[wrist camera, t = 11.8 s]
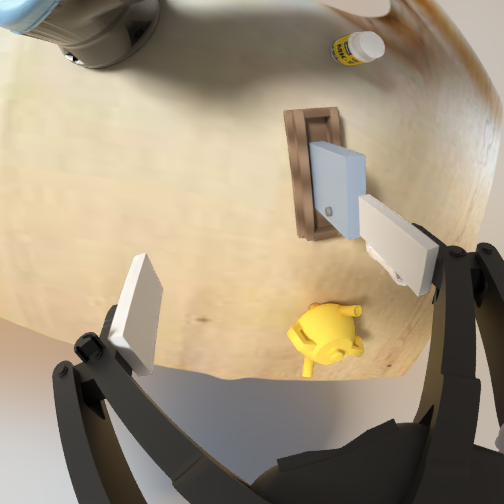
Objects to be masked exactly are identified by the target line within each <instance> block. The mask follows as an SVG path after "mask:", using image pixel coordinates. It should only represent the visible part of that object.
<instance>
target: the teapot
mask: <svg viewBox="0 0 504 504" xmlns="http://www.w3.org/2000/svg"><path fill="white" fill-rule="evenodd" d="M362 311H363V310H362V307H361V306H360V305H350V306H342V305H339V304H331V303H328V304H321V305H319V304H318V303H312V304H311V305H310V306H309V310H308V311H306V312H305V313H304V314H303V315H302V316H301V317H300V319H299V320H298V321H297V323H296V324H295V325H293V326H292V327H291V328H290V330H289V331H288V332H287V335H288V337H289V338H290V340H291V341H292V342H293V344H294V345H295V347H296V348H297V350H298V351H300V352H301V353H302V354H303V355H304V356H305V358H304V366H303V374H302V376H303V377H312V374H313V367H314V362H316V363H319V364H323V365H327V364H333V363H336V362H338V361H340V360H341V359H343V358H344V357H345V356H346V355H352V356H357V357H360V356H361V355H362V354H363V352H364V347H363V343H362V339H361V338H360V337H359V336H357V335H356V334H355V325H354V320H353V317H359V316H361V314H362ZM352 316H353V317H352Z"/></svg>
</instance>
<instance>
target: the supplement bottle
mask: <svg viewBox="0 0 504 504" xmlns="http://www.w3.org/2000/svg"><path fill="white" fill-rule="evenodd" d="M330 50H331V55H332V57H333V58H334V60H335V61H336V62H338V63H339V64H341V65H343V66H352V65H358V64H363V63H369V62H372V61H374V60H375V59H376V58H380V57H381V56H383V54H384V52H385V45H384V42H383V40H382V39H381V37H380V36H379V35H377V34H376V33H374V32H371V31H366V32H354V33H352V34H349V35H347V36H344V37H342V38H339V39H337V40H335V41H334V42H333V43H332V45H331V49H330Z"/></svg>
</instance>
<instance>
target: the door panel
mask: <svg viewBox="0 0 504 504" xmlns="http://www.w3.org/2000/svg"><path fill="white" fill-rule="evenodd" d="M308 152H309V162H310V173H311V185H312V197H313V206H314V207H315V208H316V209H317V210H318V211H319V212H320V213H321V214H322V215H323V216H324V217H325V218H326V219H327V220H328V221H329V222H330V223H331V224H332V225H333V226H334V227H335V228H336V229H337V230H338V231H339V232H340V233H341V234H342V235H343V236H344V237H345V238H346V239H347V240H351V239H355V238H359V237H361V236H360V223H359V196H362V195H366V160H365V155H364V154H361V153H358V152H355V151H352V150H349V149H347V148H344V147H341V146H337V145H334V144H331V143H328V142H325V141H319V142H310V143H308Z"/></svg>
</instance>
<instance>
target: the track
mask: <svg viewBox="0 0 504 504" xmlns="http://www.w3.org/2000/svg"><path fill="white" fill-rule="evenodd" d="M283 113H284V120H285V127H286V135H287V142H288V150H289V158H290V167H291V175H292V184H293V194H294V204H295V214H296V225H297V235H298V237H299V238H300V237H305V238H306V239H307V241H310V240H321V239H325V238H330V237H335V236H339V235H342V234H341V233H340V232H339V231H338V230H337V229H336V228H335V227H334V226H333V225H332V224H331V223H330V222H329V221H328V220H327V219H326V218H325V217H324V216H323V215H322V214H321V213H320V212H319V211H318V210H317V209H316V208H315V207H314V206H313V197H312V185H311V173H310V162H309V152H308V143H310V142H319V141H325V142H328V143H331V144H334V145H337V146H341V139H340V128H339V117H338V108H337V107H326V108H310V109H298V110H288V111H283Z"/></svg>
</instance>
